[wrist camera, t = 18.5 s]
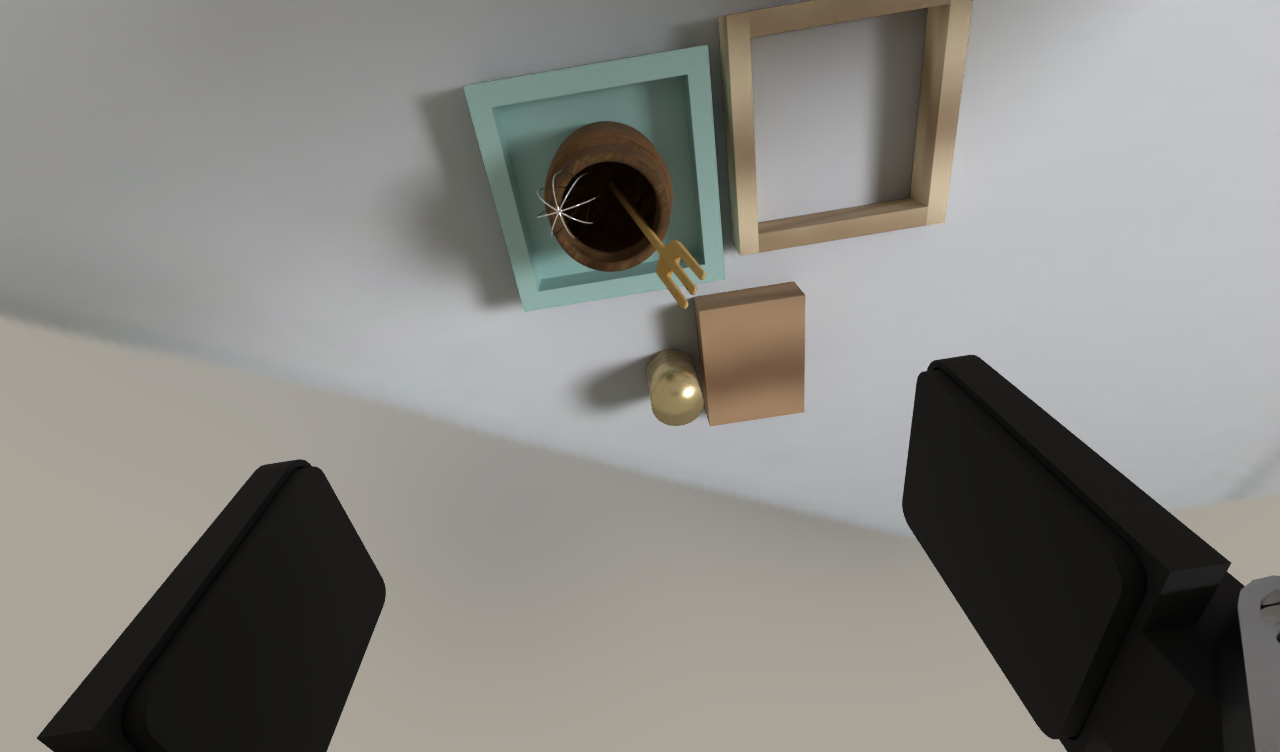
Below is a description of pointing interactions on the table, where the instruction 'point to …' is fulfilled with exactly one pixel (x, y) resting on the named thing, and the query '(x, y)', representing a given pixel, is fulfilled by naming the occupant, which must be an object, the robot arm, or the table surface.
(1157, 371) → the table surface
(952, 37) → the wooden square frame
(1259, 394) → the table surface
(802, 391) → the board
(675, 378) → the cylinder
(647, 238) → the utensil holder
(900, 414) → the table surface
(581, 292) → the tray
